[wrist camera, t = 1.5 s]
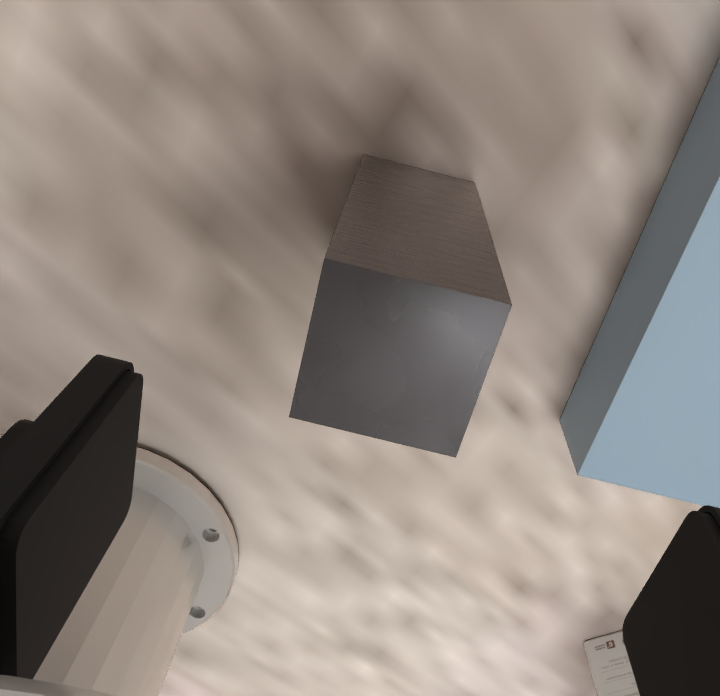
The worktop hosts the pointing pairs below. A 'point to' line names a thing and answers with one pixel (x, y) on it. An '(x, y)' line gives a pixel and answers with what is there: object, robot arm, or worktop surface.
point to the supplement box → (610, 666)
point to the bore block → (662, 341)
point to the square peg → (403, 311)
